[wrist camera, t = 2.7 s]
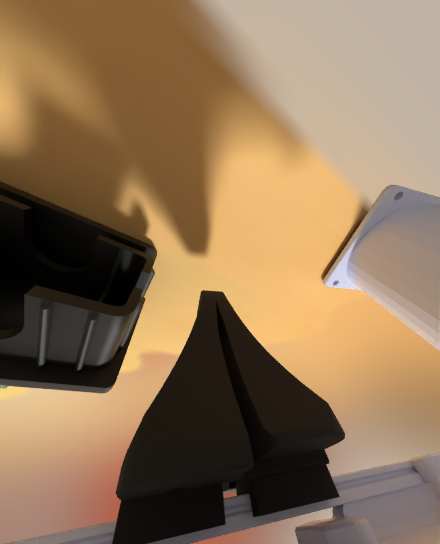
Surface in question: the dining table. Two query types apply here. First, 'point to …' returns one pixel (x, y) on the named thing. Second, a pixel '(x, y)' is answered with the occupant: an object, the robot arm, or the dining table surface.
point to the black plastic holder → (66, 295)
